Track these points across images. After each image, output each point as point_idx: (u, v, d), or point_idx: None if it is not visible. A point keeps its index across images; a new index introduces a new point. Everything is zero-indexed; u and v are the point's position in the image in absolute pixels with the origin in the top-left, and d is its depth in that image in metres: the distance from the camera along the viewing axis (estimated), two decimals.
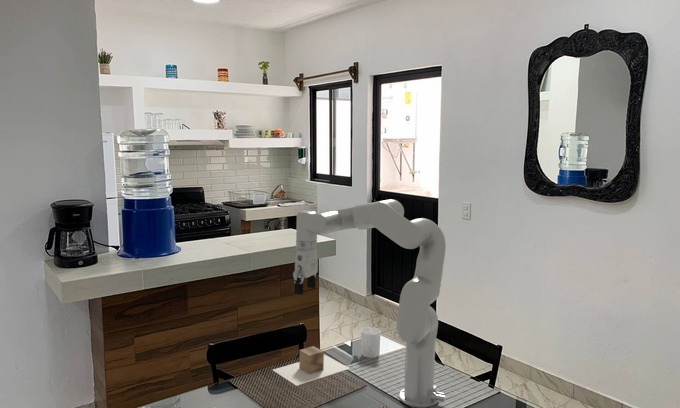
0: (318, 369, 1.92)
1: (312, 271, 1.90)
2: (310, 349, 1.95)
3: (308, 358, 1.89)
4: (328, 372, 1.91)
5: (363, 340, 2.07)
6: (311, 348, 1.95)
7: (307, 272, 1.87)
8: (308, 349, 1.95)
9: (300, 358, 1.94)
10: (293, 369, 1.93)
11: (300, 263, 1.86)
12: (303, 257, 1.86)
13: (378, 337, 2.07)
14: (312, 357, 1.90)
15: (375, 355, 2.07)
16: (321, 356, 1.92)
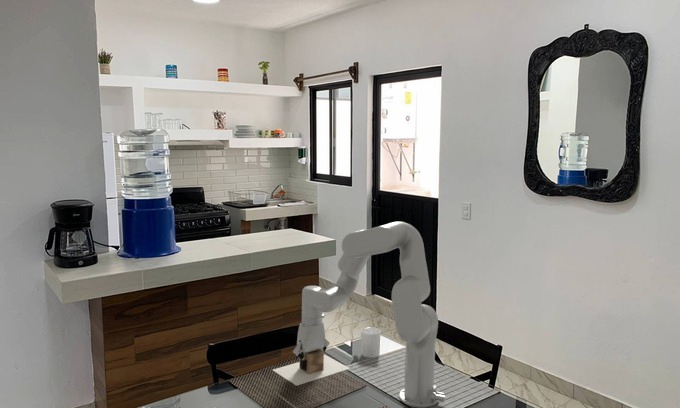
0: (318, 369, 1.92)
1: None
2: None
3: (308, 358, 1.89)
4: (328, 372, 1.91)
5: (363, 340, 2.07)
6: None
7: None
8: None
9: None
10: (293, 369, 1.93)
11: None
12: None
13: (378, 337, 2.07)
14: (312, 357, 1.90)
15: (375, 355, 2.07)
16: (320, 356, 1.92)
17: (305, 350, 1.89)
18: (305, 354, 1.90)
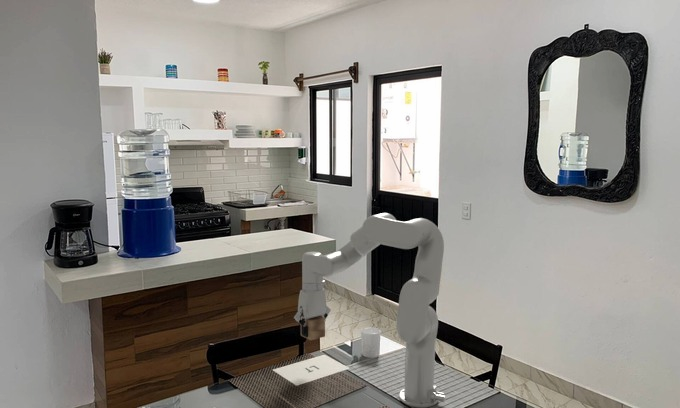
0: (320, 335, 1.91)
1: None
2: None
3: (309, 324, 1.88)
4: (328, 372, 1.91)
5: (363, 340, 2.07)
6: None
7: None
8: None
9: None
10: (293, 369, 1.93)
11: None
12: None
13: (378, 337, 2.07)
14: (313, 323, 1.88)
15: (375, 355, 2.07)
16: (322, 323, 1.91)
17: (306, 316, 1.87)
18: (306, 320, 1.88)
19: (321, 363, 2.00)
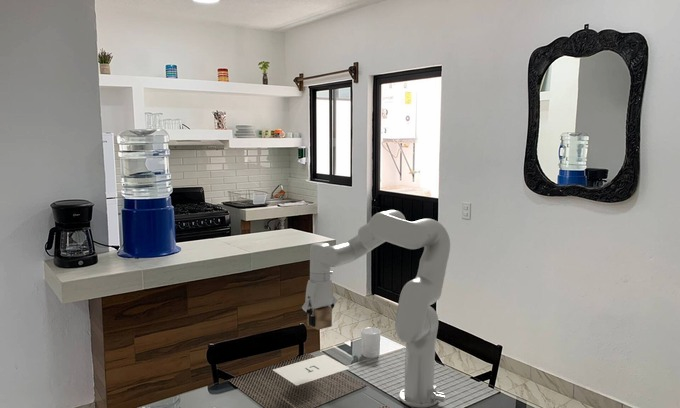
0: (327, 325, 1.93)
1: None
2: None
3: (317, 314, 1.90)
4: (328, 372, 1.91)
5: (363, 340, 2.07)
6: None
7: None
8: None
9: (308, 315, 1.94)
10: (293, 369, 1.93)
11: None
12: None
13: (378, 337, 2.07)
14: (321, 313, 1.90)
15: (375, 355, 2.07)
16: (329, 313, 1.93)
17: (314, 306, 1.89)
18: (314, 310, 1.90)
19: (321, 363, 2.00)
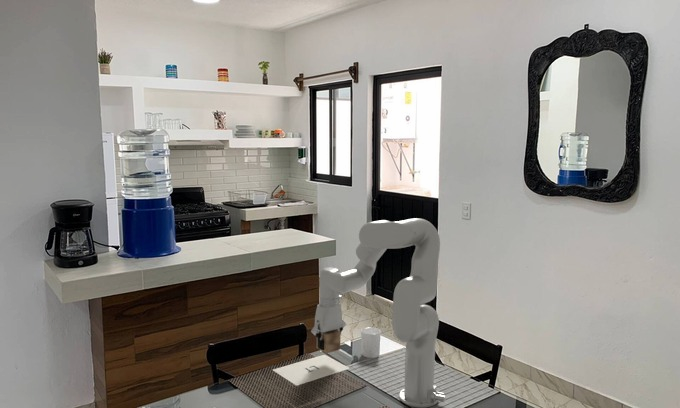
0: (335, 348, 1.97)
1: None
2: None
3: (325, 337, 1.94)
4: (328, 372, 1.91)
5: (363, 340, 2.07)
6: None
7: None
8: None
9: (317, 338, 1.98)
10: (293, 369, 1.93)
11: None
12: None
13: (378, 337, 2.07)
14: (330, 337, 1.94)
15: (375, 355, 2.07)
16: (337, 336, 1.97)
17: (323, 330, 1.93)
18: (323, 334, 1.94)
19: (321, 363, 2.00)
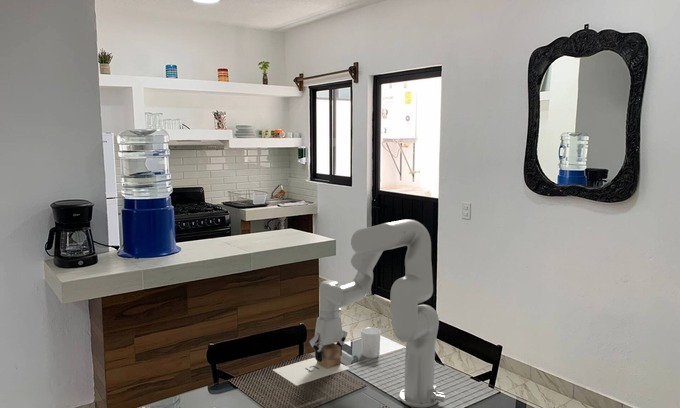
0: (336, 364, 1.97)
1: None
2: None
3: (326, 353, 1.94)
4: (328, 372, 1.91)
5: (363, 340, 2.07)
6: None
7: None
8: None
9: None
10: (293, 369, 1.93)
11: None
12: None
13: (378, 337, 2.07)
14: (330, 352, 1.95)
15: (375, 355, 2.07)
16: (338, 351, 1.97)
17: (323, 343, 1.94)
18: (321, 346, 1.94)
19: None
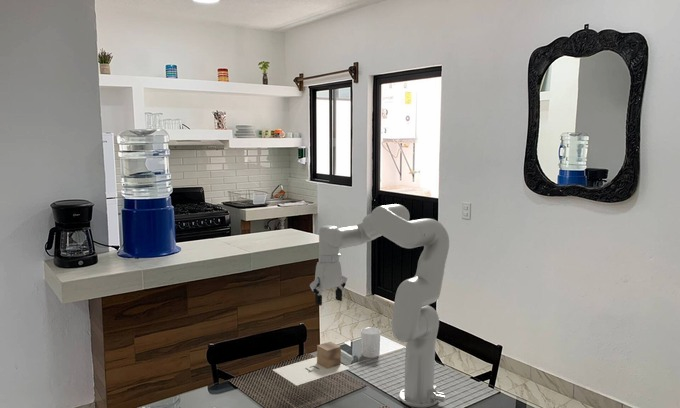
0: (336, 364, 1.97)
1: None
2: (328, 344, 2.00)
3: (326, 353, 1.94)
4: (328, 372, 1.91)
5: (363, 340, 2.07)
6: (328, 343, 2.00)
7: None
8: (326, 344, 2.00)
9: (318, 353, 1.99)
10: (293, 369, 1.93)
11: None
12: None
13: (378, 337, 2.07)
14: (330, 352, 1.95)
15: (375, 355, 2.07)
16: (338, 351, 1.97)
17: (323, 286, 1.95)
18: (321, 290, 1.96)
19: None
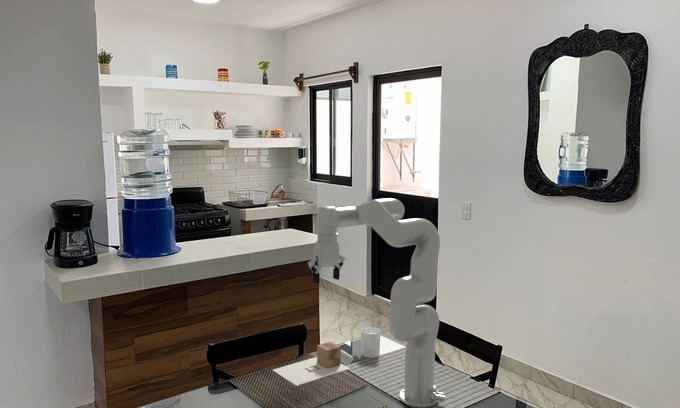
0: (336, 364, 1.97)
1: None
2: (328, 344, 2.00)
3: (326, 353, 1.94)
4: (328, 372, 1.91)
5: (363, 340, 2.07)
6: (328, 343, 2.00)
7: None
8: (326, 344, 2.00)
9: (318, 353, 1.99)
10: (293, 369, 1.93)
11: None
12: None
13: (378, 337, 2.07)
14: (330, 352, 1.95)
15: (375, 355, 2.07)
16: (338, 351, 1.97)
17: (321, 265, 2.00)
18: (319, 268, 2.01)
19: None
